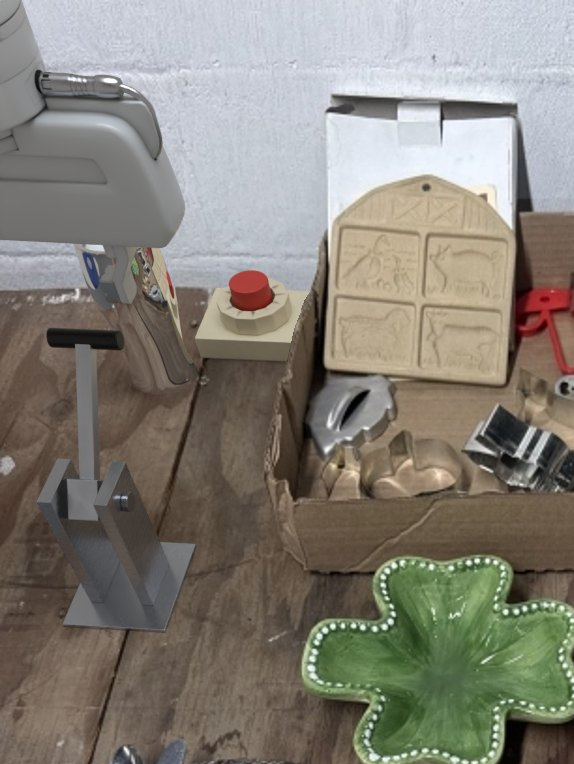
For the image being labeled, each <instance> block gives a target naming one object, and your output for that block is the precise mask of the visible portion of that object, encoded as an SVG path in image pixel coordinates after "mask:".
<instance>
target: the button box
mask: <svg viewBox="0 0 574 764" xmlns="http://www.w3.org/2000/svg"><path fill="white" fill-rule="evenodd" d="M267 278H268V282H269V286H270V290H271V294H272V303H271V304H270V305H268V306H267V307H266V308H263V309H260V310H256V311H241V310H239V309H237V308H236V307H235V306H234V302H233V299H232V295H231V292H230V288H229V284H228V285H227V286H225V287H215V288H214V291H213V294H212V296H211V299H210V301H209V303H208V306H207V308H206V310H205V313H204V315H203V318H202V321H200V325H199V327H198V329H197V331H196V334H195V336H194V341H195V344H196V348H197V350H198V353H199V356H200V358H201V359H221V360H223V359H225V360H226V359H227V360H242V361H243V360H244V361H245V360H249V361H270V362H288V361H287V358H288V354H289V349H290V345H291V341H292V336H293V332H294V328H295V325H296V323H297V320H298V318H299V315H300V313H301V308H302V305H303V303H304V300H305V299H306V297H307V295H308V294H309V292H310V290H289V289H288V290H287V288H286V286H285V285H284V284H283V282H280V281H278V280H276V279H273V278H271V277H267Z"/></svg>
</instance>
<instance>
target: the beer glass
mask: <svg viewBox="0 0 574 764" xmlns="http://www.w3.org/2000/svg"><path fill="white" fill-rule="evenodd" d="M72 245H73V247H74V250H75V254H76V258H77V262H78V264H79V267H80V270H81V273H82V277H83V279H84V281H85V285H86V286H87V290H88V292H89V294H90V296H91V298H92V301H93V303H94V304H95V307H96V308H97V310H98V312H99V314H100V316H101V317H102V319H103V320H104V322H105V324H106V325H107V327H108V328H109V330H119V331H121V332H122V334H123V337H124V348H123V349H122V351H123V353H124V356H125V358H126V361H127V364H128V368H129V373H130V381H131V383H132V386H133V387H134V389H136V390H137V391H139V392H142V393H144V394H147V395H151V396H164V395H169V394H174V393H176V392H179V391H180V390H183V389H184V388H186V387H187V386H189V385H190V384H191V383H192V382H193V381H196V382H197V381H198V382H199V381H200V371H199V369H198V367H197V365H196V363H195V361H194V360H193V358H192V356H191V354H190V353H189V351H188V349H187V346H186V344H185V340H184V336H183V331H182V325H181V318H180V317H181V316H180V310H179V303H178V295H177V291H176V287H175V286H176V285H175V280H174V277H173V273H172V270H171V267H170V264H169V260H168V258H167V255H166V252H165V250H164V248H147V247H137V248H136V252H135V255H134V259H133V262H132V266H131V271H132V274H133V277H134V280H135V283H136V288H137V293H136V296H135V298H134V300H133V302H132V303H131V304H126V303H112V302H107V300H106V298H105V295H106V293H105V292H104V291H103V290H102V287H101V284H100V282H99V281H100V279H101V277H102V275H103V274H105V269H106V267H107V266H108V265H115V264H116V260H117V258H116V257H115V259H113V258H108V257H107V256H106V253H105V251H104V248H103V245H89V244H72Z"/></svg>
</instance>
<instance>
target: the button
mask: <svg viewBox="0 0 574 764" xmlns="http://www.w3.org/2000/svg"><path fill="white" fill-rule="evenodd" d="M268 278H269V277H268V276H267V275H266V274H265V273H264V272H262V271H259V270H252V269H250V270H249V269H248V270H243V271H239V272H238V273H236V274H234V275H233V276H231V277H230V278H229V281H228V285H229V288H230V292H231V295H232V299H233V302H234V306H235V307H236V308H237V309H239V310H241V311H256V310H260V309H263V308H266V307H267V306H268V305H270V304H271V303H272V294H271V290H270V286H269V282H268Z"/></svg>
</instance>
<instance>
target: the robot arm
mask: <svg viewBox="0 0 574 764" xmlns="http://www.w3.org/2000/svg"><path fill="white" fill-rule="evenodd" d="M30 22H31V21H30V20H29V17H28V14H27V11H26V8H25V6H24V3H23V0H0V241H12V242H33V243H51V244H52V243H53V244H70V245H73V244H89V245H103V248H104V251H105V253H106V256H107V257H108V258H113V259H115V257H116V258H117V260H116V264H115V265H108V266H107V267H106V269H105V274H103V275H102V277H101V279H100V281H99V282H100V284H101V287H102V290H103V291H104V292H105V293H106V295H105V298H106V300H107V302H112V303H126V304H131V303H132V302H133V300H134V298H135V296H136V293H137V288H136V283H135V280H134V277H133V274H132V271H131V266H132V262H133V259H134V255H135V252H136V248H137V247H147V248H163V249H164V248H166V247H168V245H169V244H170V243H171V241H172V240H173V238H174V237H175V236H176V234H177V232H178V230H179V229H180V226H181V225H182V222H183V220H184V217H185V213H186V203H185V199H184V195H183V193H182V189H181V186H180V184H179V181H178V179H177V176H176V173H175V170H174V168H173V165H172V163H171V161H170V158H169V157H168V156H169V155H168V154H167V151H166V150H165V147H164V145H163V142H164V141H163V135H162V134H163V133H162V130H161V127H160V123H159V119H158V116H157V113H156V109H155V108H154V106H153V103H152V102H151V100H150V99H149V98H148V97H146V96H144V94H142V93H141V92H140V91H139V90H138V89H135V88H134V87H132V86H131V85H128V84H125V83H124V82H123V80H122V78H120V77H118V76H115V75H110V74H95V75H82V74H76V73H71V72H70V73H69V72H57V71H56V72H53V71H48V70H47V68H46V64H45V62H44V59H43V55H42V53H41V50H40V48H39V45H38V41H37V40H36V37H35V34H34V31H33V28H32V25H31V23H30ZM126 94H127V95H126Z"/></svg>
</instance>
